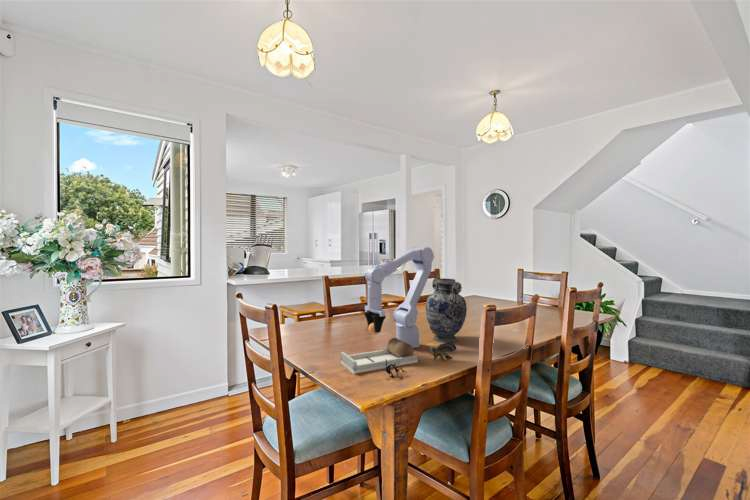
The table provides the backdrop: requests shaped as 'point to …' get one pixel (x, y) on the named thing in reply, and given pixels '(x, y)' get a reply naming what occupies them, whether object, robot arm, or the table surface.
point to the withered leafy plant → (443, 350)
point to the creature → (394, 368)
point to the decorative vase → (446, 310)
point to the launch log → (400, 348)
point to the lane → (374, 360)
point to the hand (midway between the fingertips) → (374, 330)
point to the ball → (372, 329)
